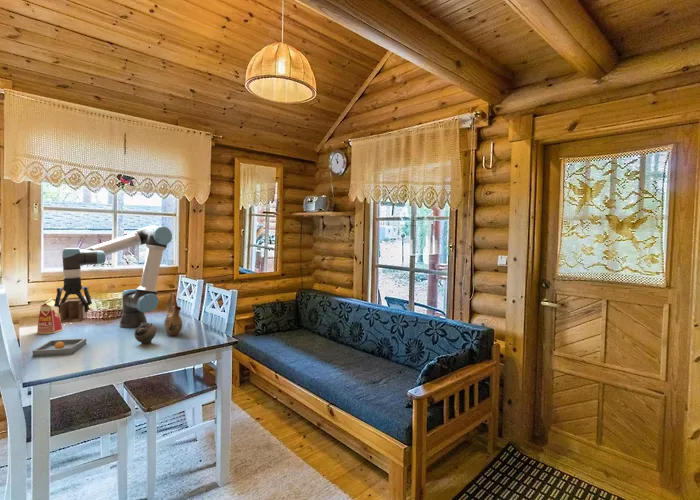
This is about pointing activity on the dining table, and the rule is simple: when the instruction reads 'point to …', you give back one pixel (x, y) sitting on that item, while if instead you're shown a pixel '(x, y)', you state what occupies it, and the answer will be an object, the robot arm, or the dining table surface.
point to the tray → (50, 349)
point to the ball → (59, 345)
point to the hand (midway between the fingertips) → (74, 318)
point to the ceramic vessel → (173, 318)
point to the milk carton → (49, 318)
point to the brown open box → (71, 311)
